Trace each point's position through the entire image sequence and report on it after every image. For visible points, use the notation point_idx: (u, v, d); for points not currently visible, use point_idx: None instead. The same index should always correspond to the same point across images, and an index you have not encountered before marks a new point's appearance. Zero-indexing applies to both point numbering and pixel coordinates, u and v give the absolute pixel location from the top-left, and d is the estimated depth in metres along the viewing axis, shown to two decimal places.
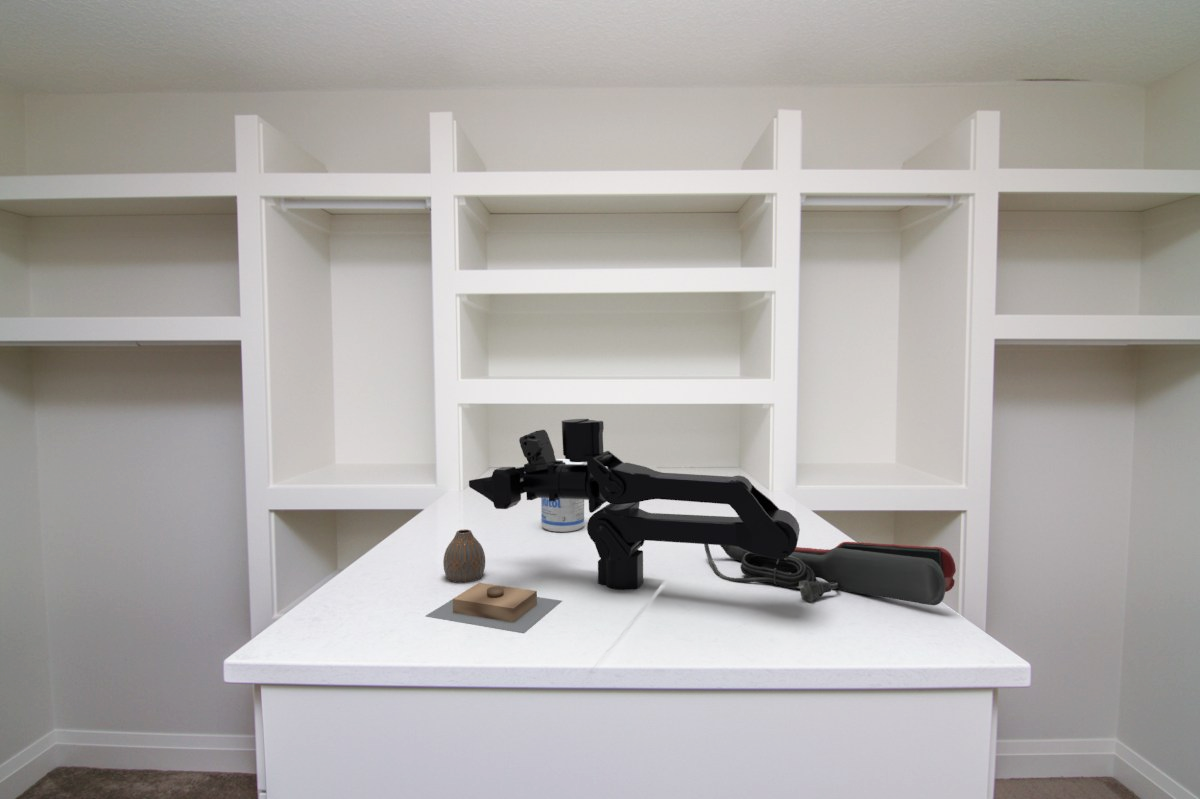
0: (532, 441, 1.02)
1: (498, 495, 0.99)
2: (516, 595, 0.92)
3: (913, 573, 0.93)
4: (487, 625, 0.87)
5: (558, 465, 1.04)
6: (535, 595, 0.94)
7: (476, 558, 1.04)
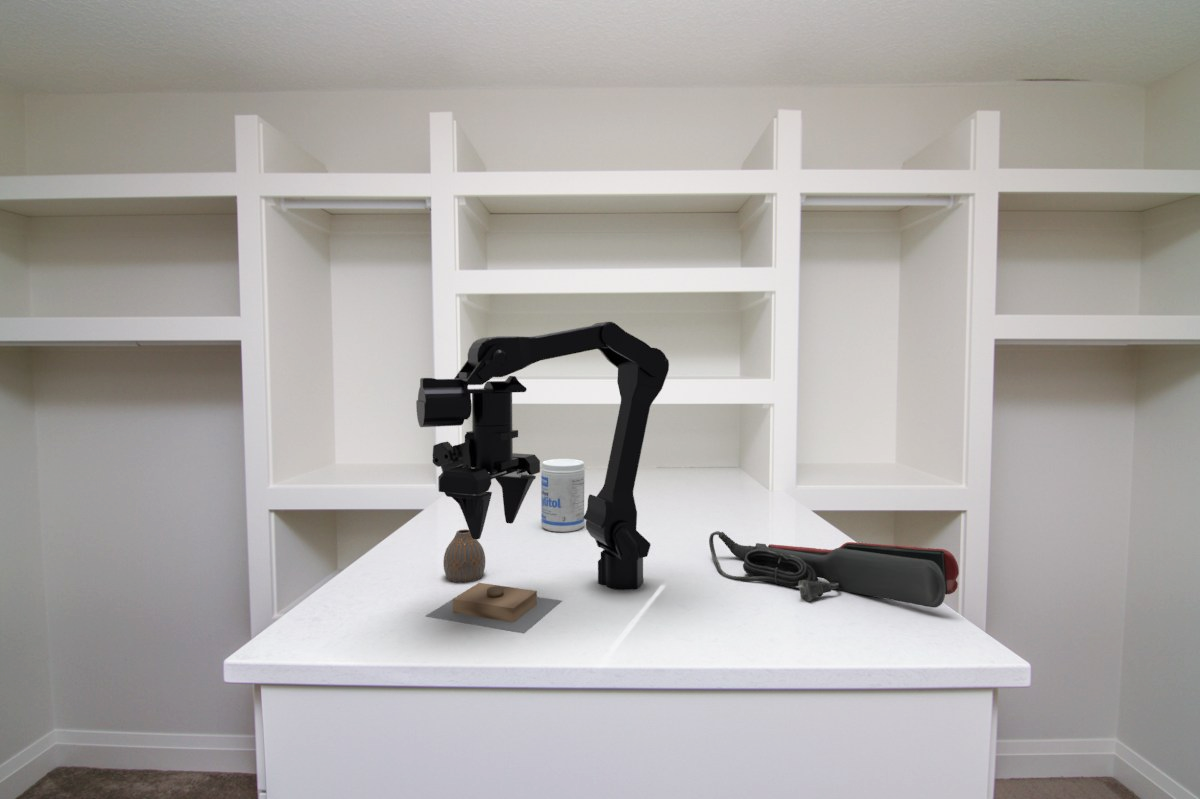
0: (434, 450, 0.90)
1: (460, 487, 0.83)
2: (516, 595, 0.92)
3: (913, 575, 0.92)
4: (487, 625, 0.87)
5: None
6: (535, 595, 0.94)
7: (477, 558, 1.04)
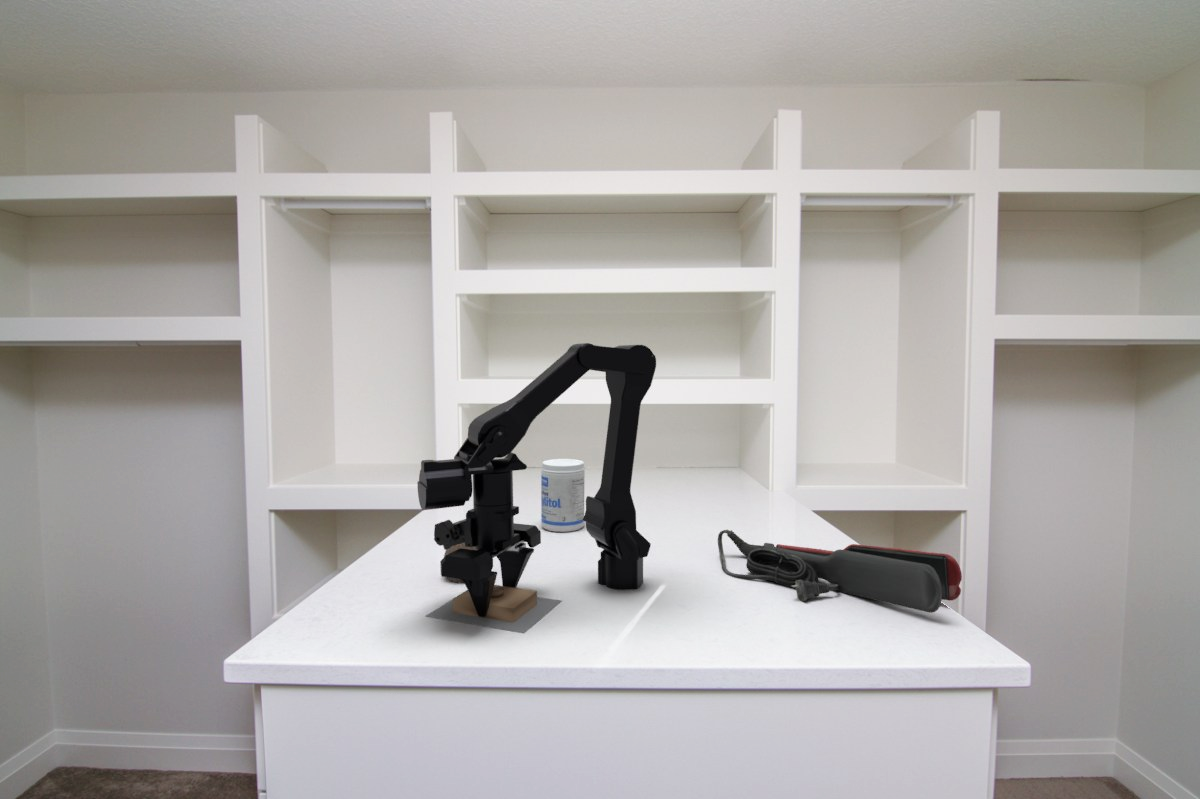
0: (435, 529, 0.91)
1: (462, 572, 0.83)
2: (516, 595, 0.92)
3: (909, 578, 0.90)
4: (487, 625, 0.87)
5: None
6: (535, 595, 0.94)
7: None
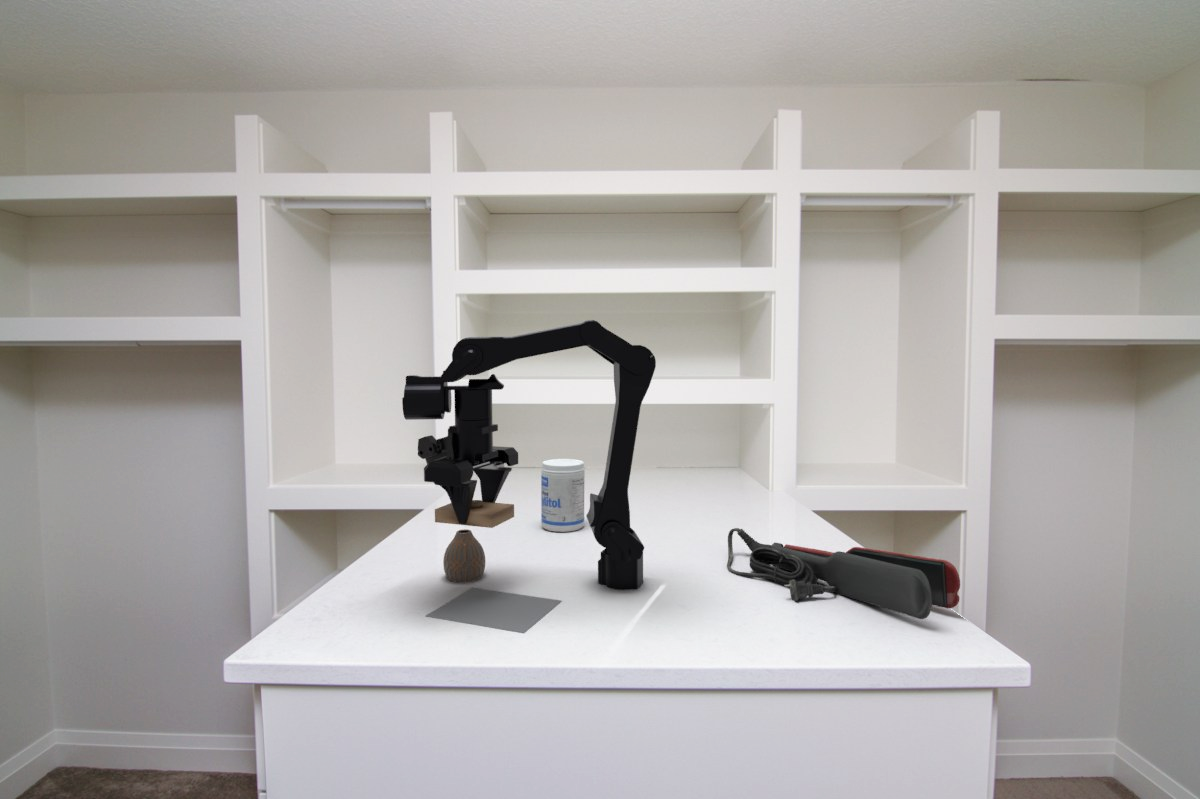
0: (419, 444, 0.97)
1: (445, 477, 0.89)
2: (495, 506, 0.99)
3: (900, 583, 0.89)
4: (487, 625, 0.87)
5: None
6: (512, 508, 1.00)
7: (476, 558, 1.04)
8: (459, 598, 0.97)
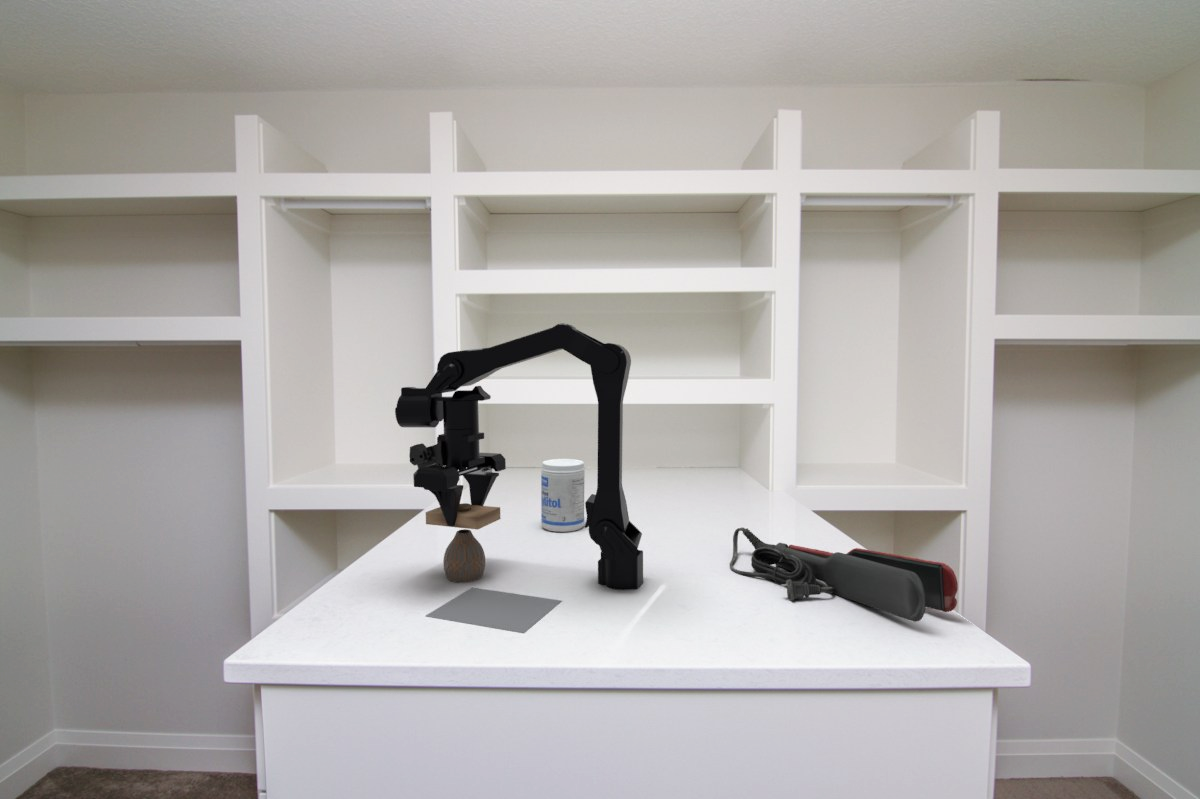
0: (410, 451, 1.04)
1: (432, 482, 0.96)
2: (482, 509, 1.05)
3: (894, 585, 0.88)
4: (487, 625, 0.87)
5: None
6: (498, 511, 1.07)
7: (476, 558, 1.04)
8: (459, 598, 0.97)
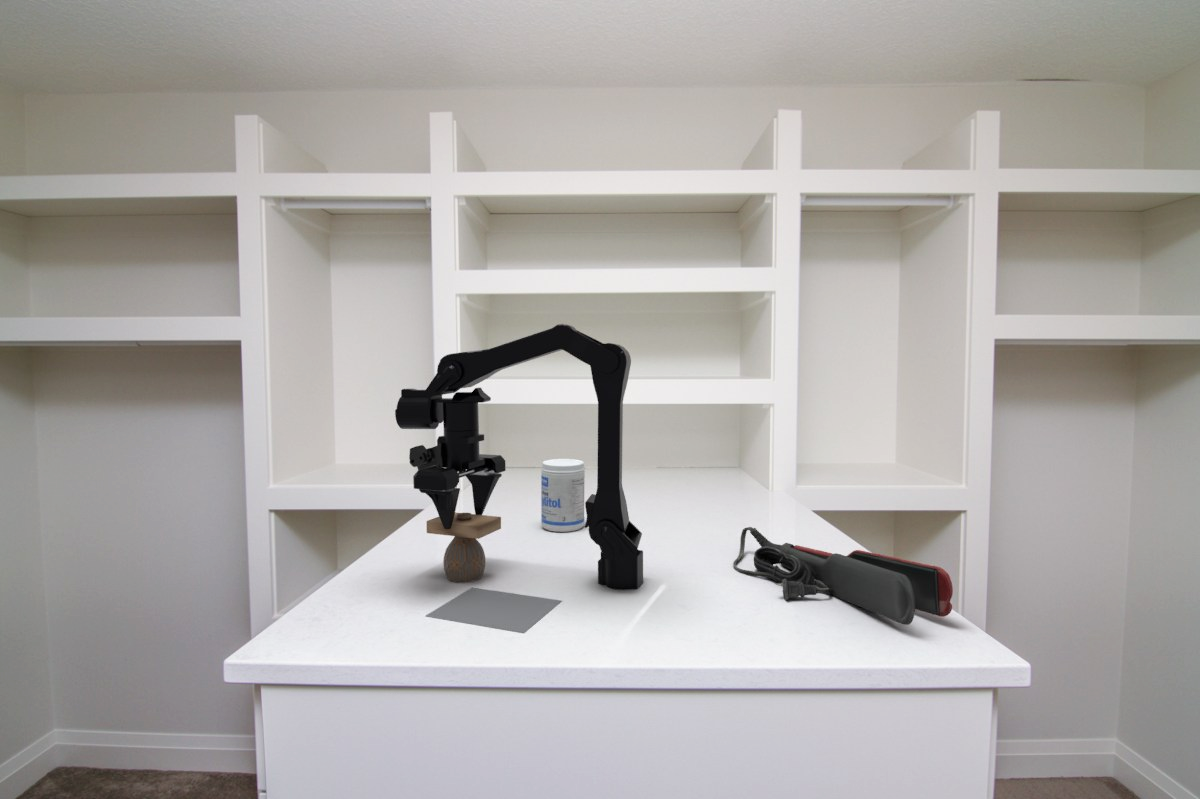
0: (410, 453, 1.04)
1: (432, 484, 0.96)
2: (482, 519, 1.06)
3: (885, 587, 0.87)
4: (487, 625, 0.87)
5: None
6: (499, 520, 1.07)
7: (476, 558, 1.04)
8: (459, 598, 0.97)
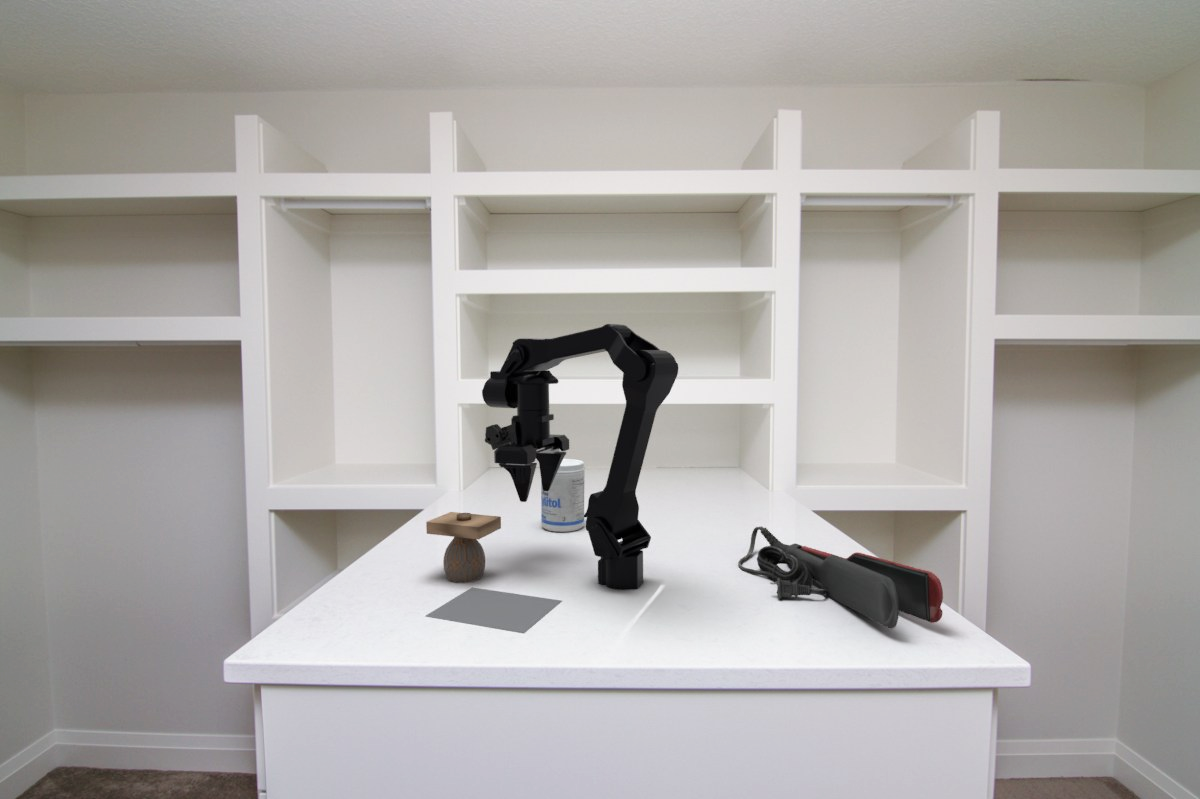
0: (486, 431, 1.11)
1: (513, 458, 1.04)
2: (482, 519, 1.06)
3: (871, 589, 0.86)
4: (487, 625, 0.87)
5: None
6: (499, 520, 1.07)
7: (476, 558, 1.04)
8: (459, 598, 0.97)
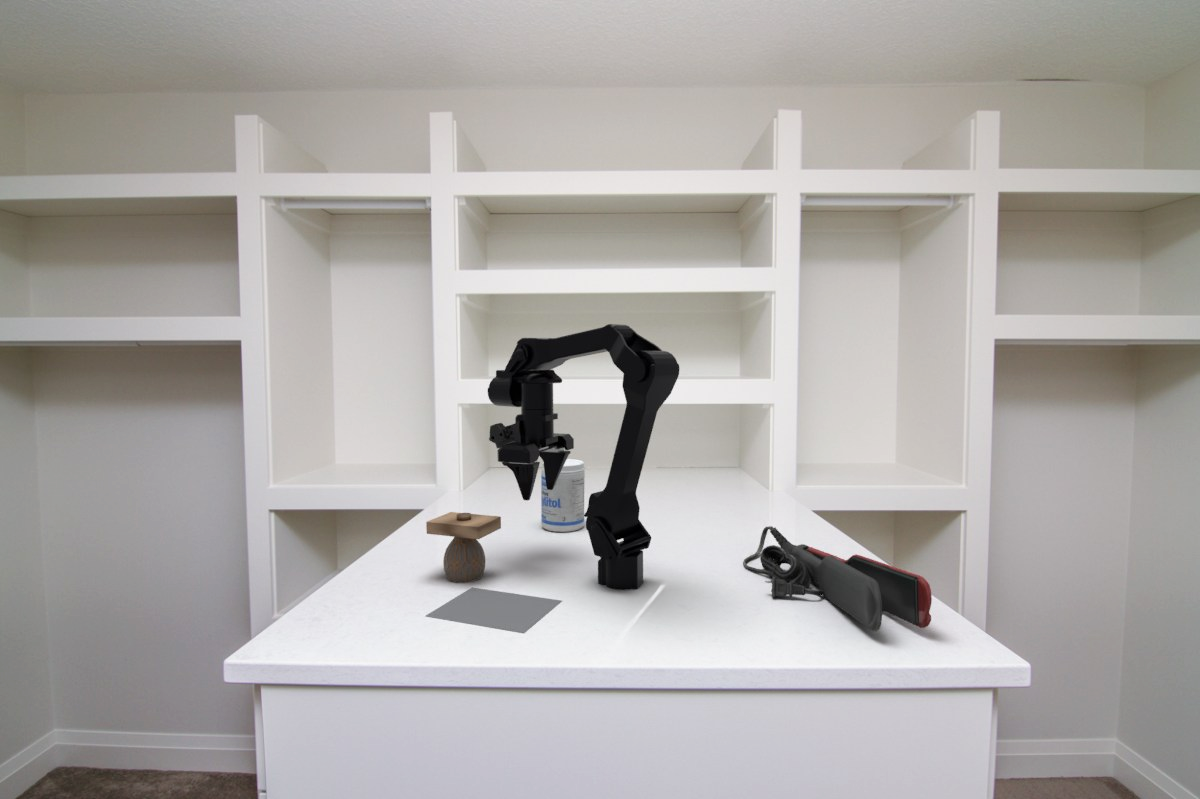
0: (490, 430, 1.12)
1: (516, 457, 1.04)
2: (482, 519, 1.06)
3: (857, 591, 0.86)
4: (487, 625, 0.87)
5: None
6: (499, 520, 1.07)
7: (476, 558, 1.04)
8: (459, 598, 0.97)
